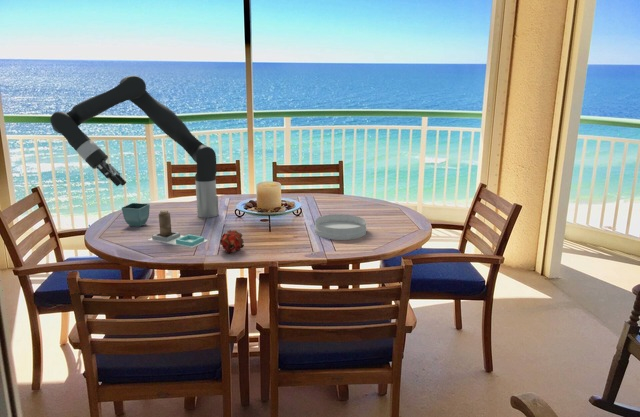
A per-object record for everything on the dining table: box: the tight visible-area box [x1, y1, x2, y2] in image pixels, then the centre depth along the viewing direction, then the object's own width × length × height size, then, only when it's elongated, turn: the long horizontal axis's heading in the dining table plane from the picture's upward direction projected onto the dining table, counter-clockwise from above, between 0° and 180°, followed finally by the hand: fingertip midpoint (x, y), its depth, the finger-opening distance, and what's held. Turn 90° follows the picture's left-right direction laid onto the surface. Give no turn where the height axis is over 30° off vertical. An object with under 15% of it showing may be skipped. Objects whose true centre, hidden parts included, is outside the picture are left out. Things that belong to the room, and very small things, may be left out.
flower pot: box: [121, 202, 151, 228], centre depth 216 cm, size 9×9×9 cm
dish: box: [314, 213, 367, 241], centre depth 209 cm, size 22×22×5 cm
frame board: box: [147, 231, 209, 248], centre depth 194 cm, size 22×10×3 cm, turn 65°
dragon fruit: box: [219, 229, 245, 255], centre depth 184 cm, size 8×8×12 cm
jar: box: [158, 209, 173, 237], centre depth 195 cm, size 4×4×11 cm
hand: (122, 184), depth 196 cm, fingers open, 8 cm apart
